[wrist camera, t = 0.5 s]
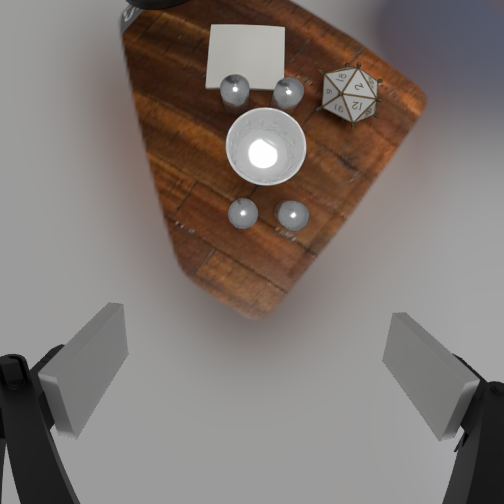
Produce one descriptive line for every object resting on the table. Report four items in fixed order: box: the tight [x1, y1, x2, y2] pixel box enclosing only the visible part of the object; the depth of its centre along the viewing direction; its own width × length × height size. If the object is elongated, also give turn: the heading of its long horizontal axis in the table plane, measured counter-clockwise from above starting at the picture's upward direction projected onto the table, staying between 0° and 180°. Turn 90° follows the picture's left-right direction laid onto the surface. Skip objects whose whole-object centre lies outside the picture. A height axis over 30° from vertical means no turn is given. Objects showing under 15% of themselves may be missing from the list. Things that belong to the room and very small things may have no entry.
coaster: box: [206, 25, 285, 91], centre depth 37 cm, size 10×10×1 cm
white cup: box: [226, 108, 306, 185], centre depth 35 cm, size 8×8×10 cm
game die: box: [316, 62, 383, 130], centre depth 35 cm, size 9×8×10 cm
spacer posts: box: [220, 74, 309, 231], centre depth 37 cm, size 17×10×7 cm, turn 178°
